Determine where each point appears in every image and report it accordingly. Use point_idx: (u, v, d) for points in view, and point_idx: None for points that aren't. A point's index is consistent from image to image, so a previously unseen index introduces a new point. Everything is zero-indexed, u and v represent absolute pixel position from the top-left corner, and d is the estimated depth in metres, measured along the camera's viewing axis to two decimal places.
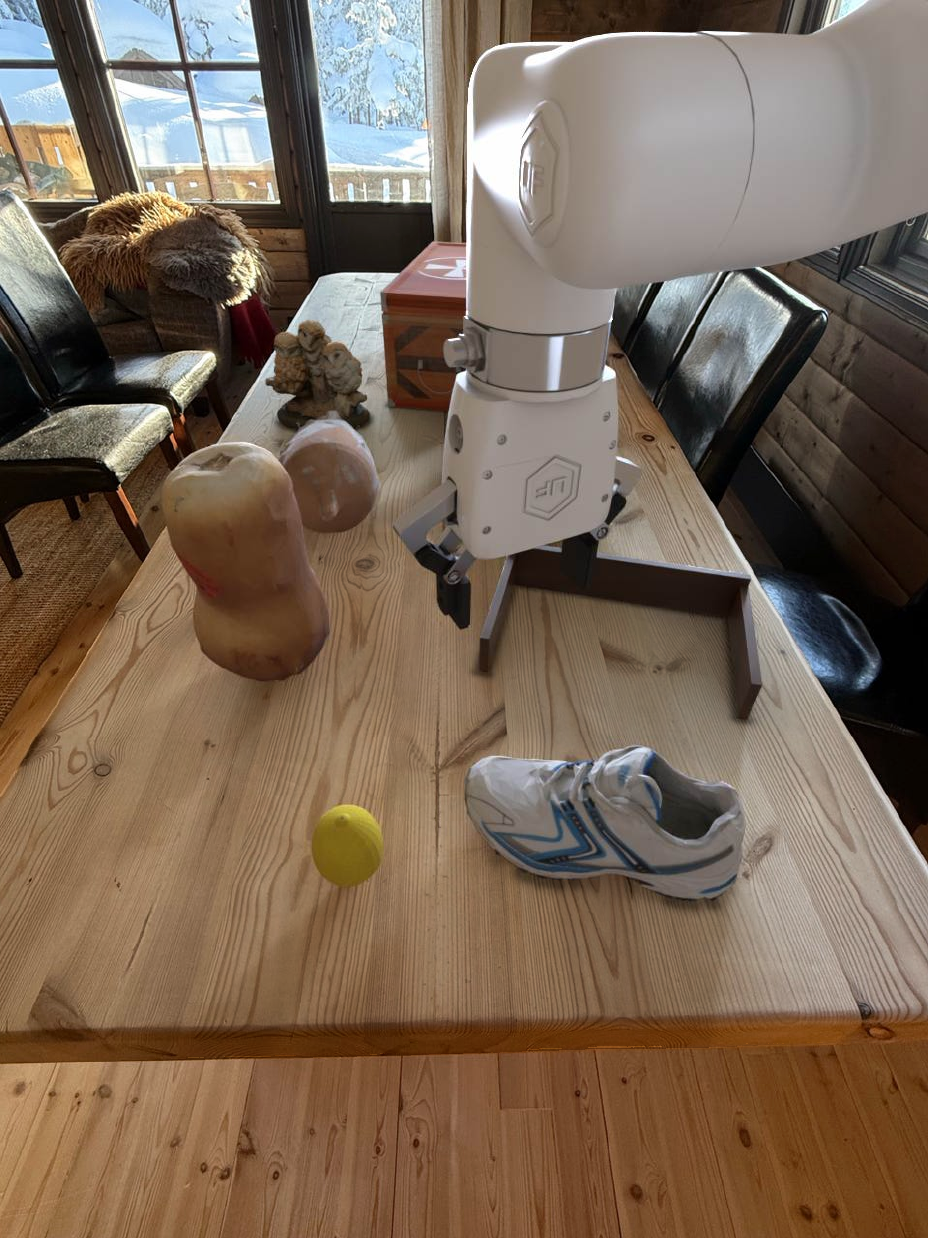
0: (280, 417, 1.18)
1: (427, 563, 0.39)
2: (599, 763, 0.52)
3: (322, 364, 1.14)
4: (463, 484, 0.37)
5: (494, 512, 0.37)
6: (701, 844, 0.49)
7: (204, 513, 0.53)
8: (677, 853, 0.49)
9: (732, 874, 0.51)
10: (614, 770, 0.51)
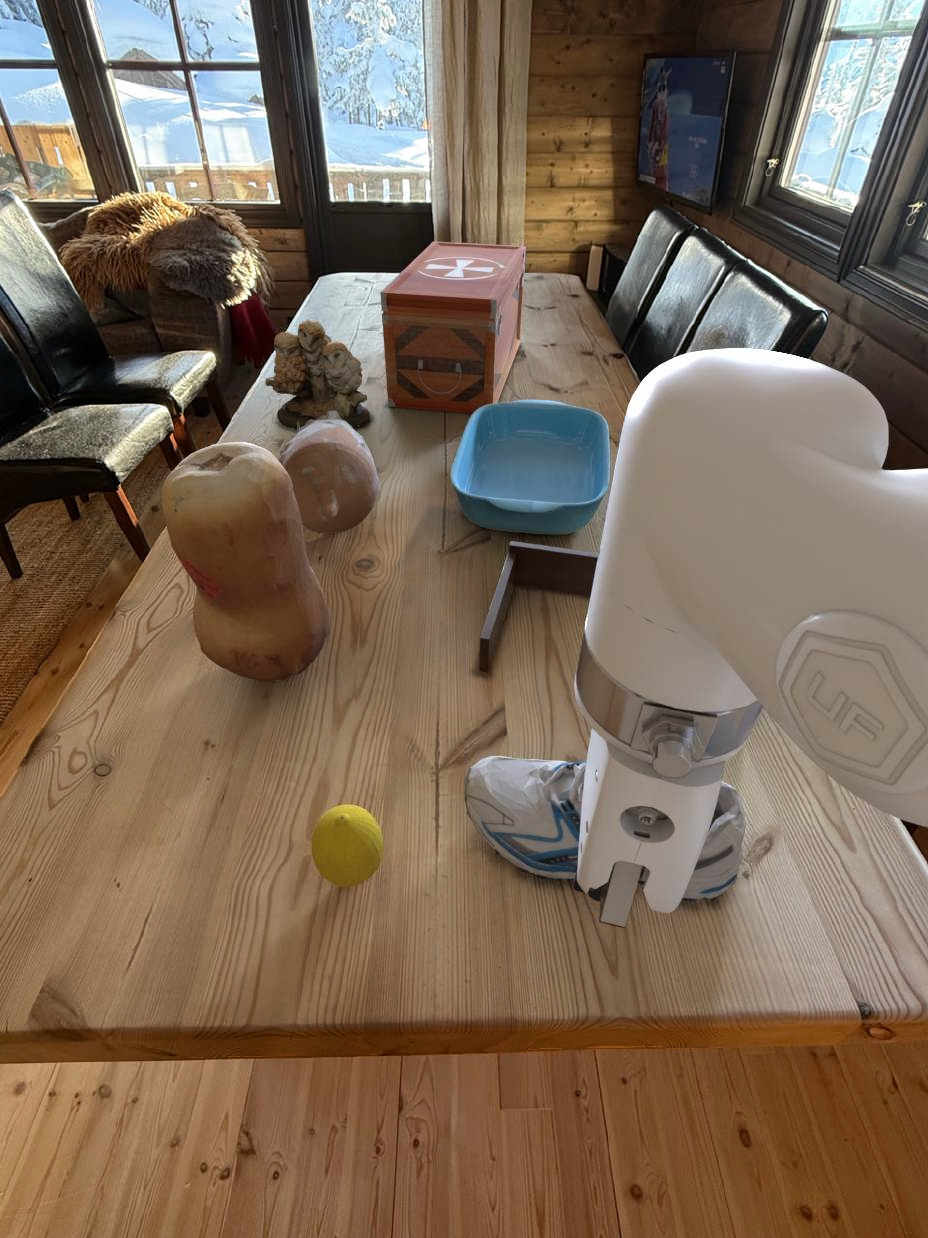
0: (280, 417, 1.18)
1: None
2: None
3: (322, 364, 1.14)
4: (668, 866, 0.27)
5: None
6: None
7: (204, 513, 0.53)
8: None
9: (732, 874, 0.51)
10: None
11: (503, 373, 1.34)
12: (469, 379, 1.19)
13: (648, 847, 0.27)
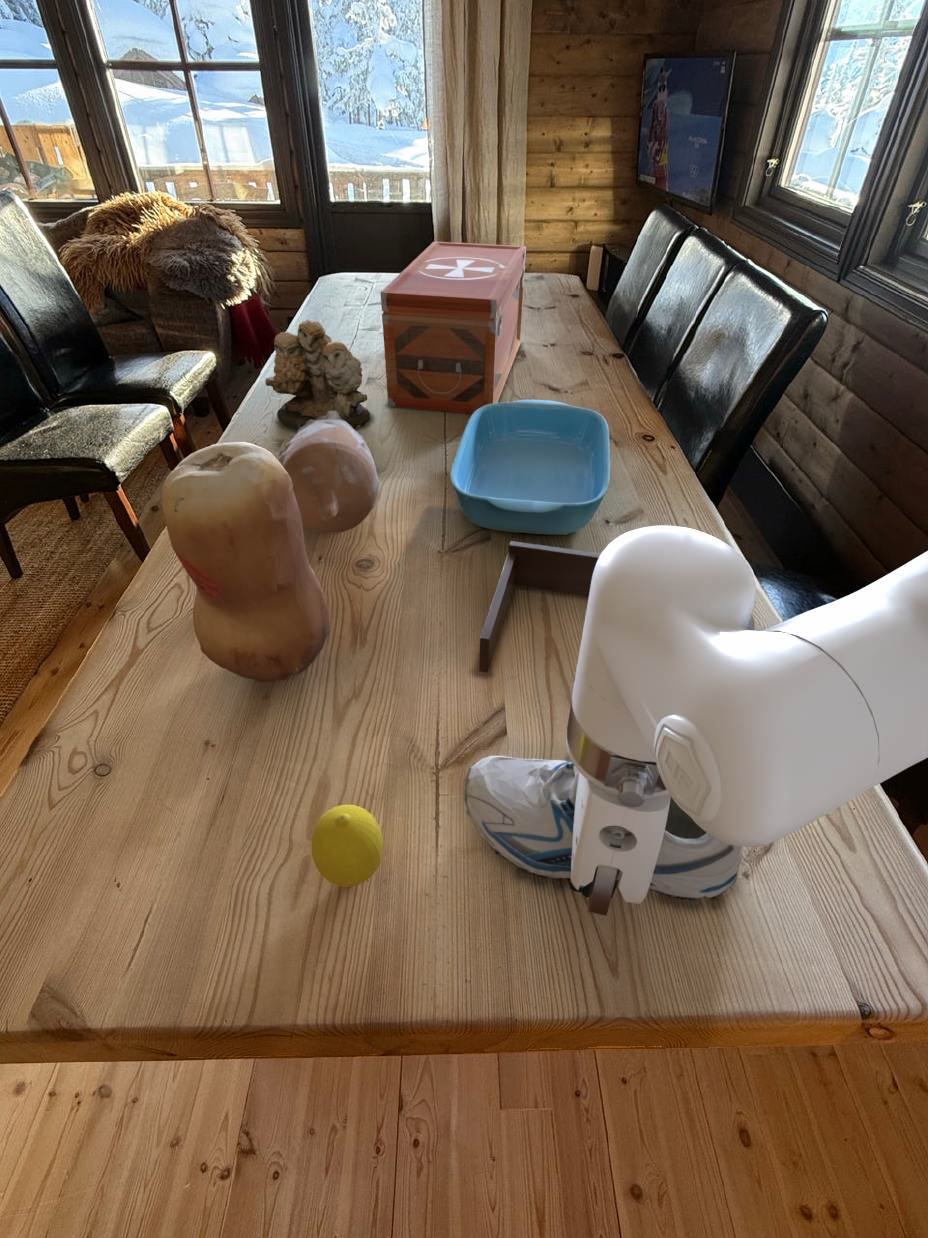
0: (280, 417, 1.18)
1: (613, 884, 0.44)
2: None
3: (322, 364, 1.14)
4: (635, 868, 0.38)
5: None
6: (701, 843, 0.49)
7: (204, 513, 0.53)
8: (677, 852, 0.49)
9: (732, 873, 0.51)
10: None
11: (503, 373, 1.34)
12: (469, 379, 1.19)
13: (619, 855, 0.38)
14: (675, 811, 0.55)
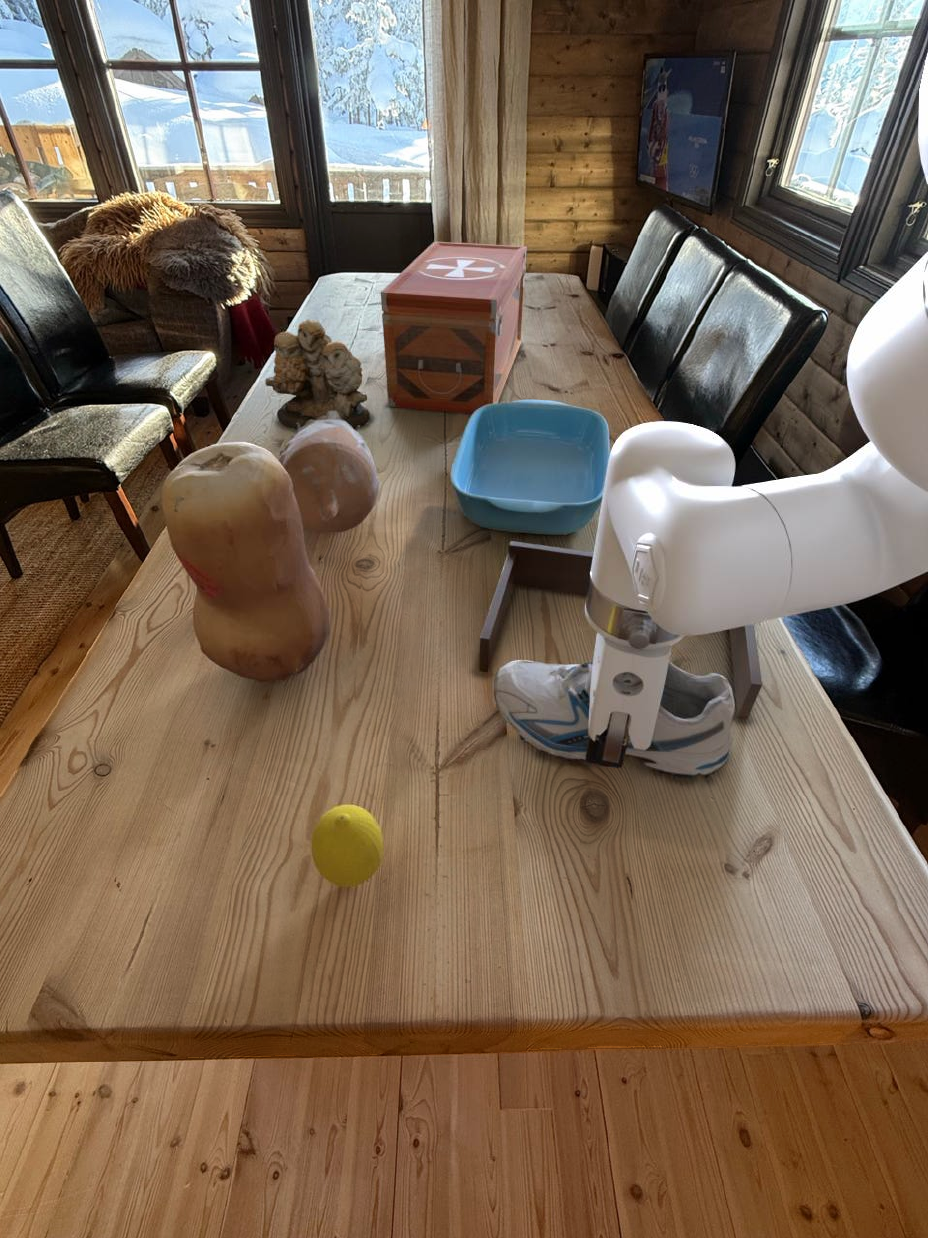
0: (280, 417, 1.18)
1: (623, 742, 0.53)
2: None
3: (322, 364, 1.14)
4: (641, 712, 0.47)
5: None
6: (696, 721, 0.57)
7: (204, 513, 0.53)
8: (676, 728, 0.58)
9: (723, 752, 0.60)
10: None
11: (503, 373, 1.34)
12: (469, 379, 1.19)
13: (629, 699, 0.47)
14: (675, 705, 0.64)
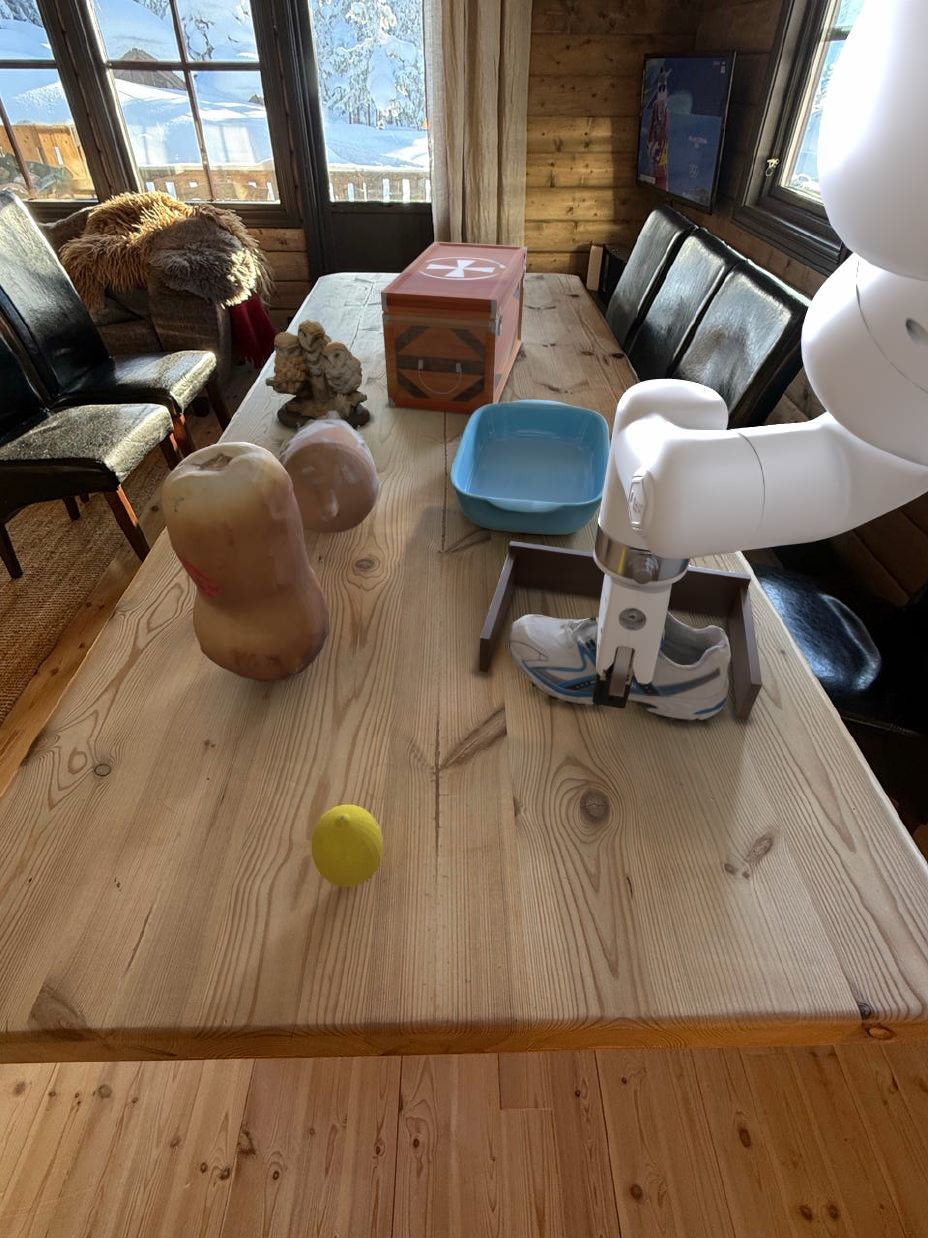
0: (280, 417, 1.18)
1: (627, 680, 0.58)
2: None
3: (322, 364, 1.14)
4: (644, 645, 0.52)
5: None
6: (694, 667, 0.62)
7: (204, 513, 0.53)
8: (675, 673, 0.63)
9: (719, 698, 0.65)
10: None
11: (504, 373, 1.34)
12: (469, 379, 1.19)
13: (633, 634, 0.52)
14: (676, 657, 0.69)
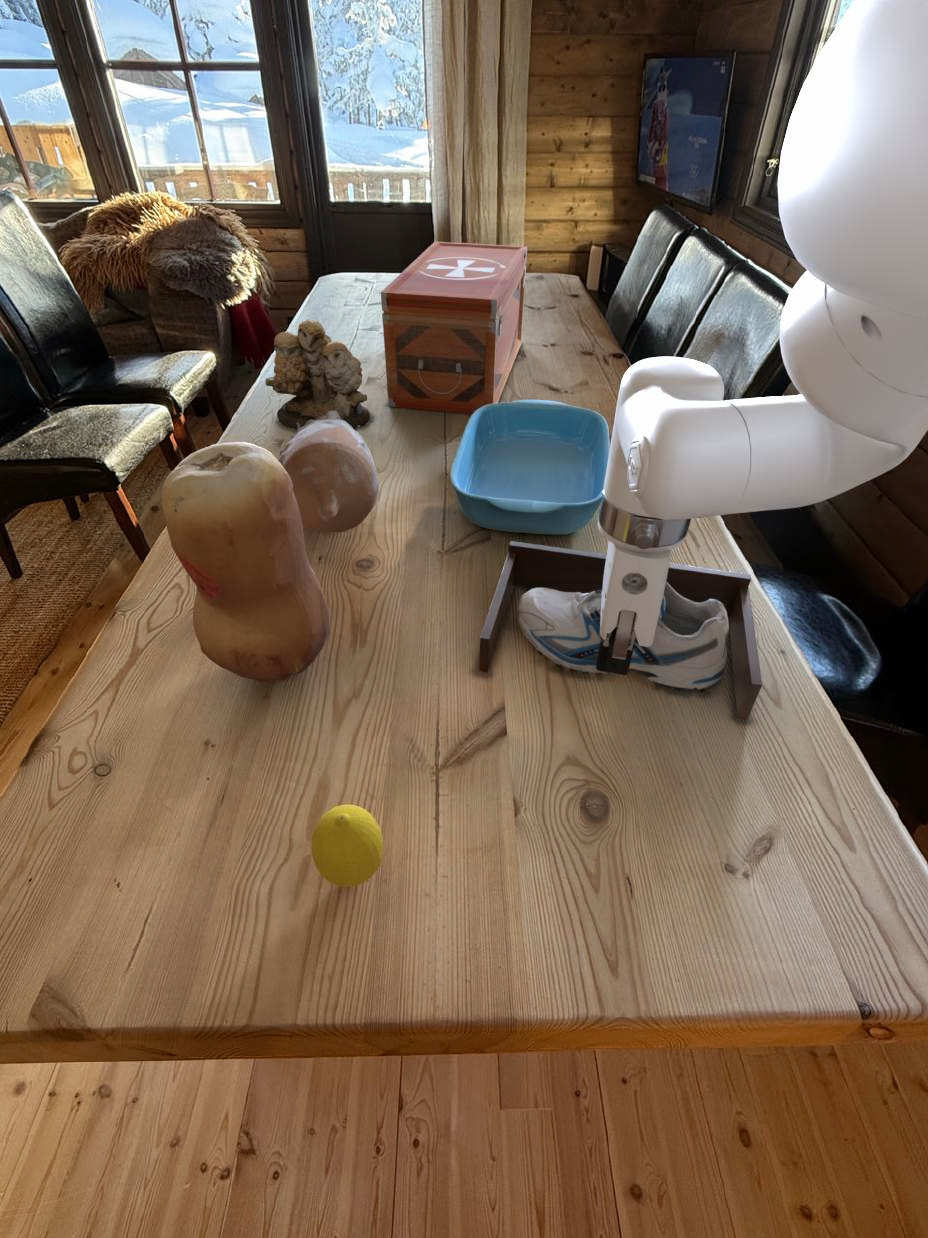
0: (280, 417, 1.18)
1: None
2: None
3: (322, 364, 1.14)
4: (646, 609, 0.56)
5: None
6: (693, 636, 0.66)
7: (204, 513, 0.53)
8: (675, 642, 0.66)
9: (717, 668, 0.68)
10: None
11: (504, 373, 1.34)
12: (469, 379, 1.19)
13: (635, 598, 0.55)
14: (677, 630, 0.72)
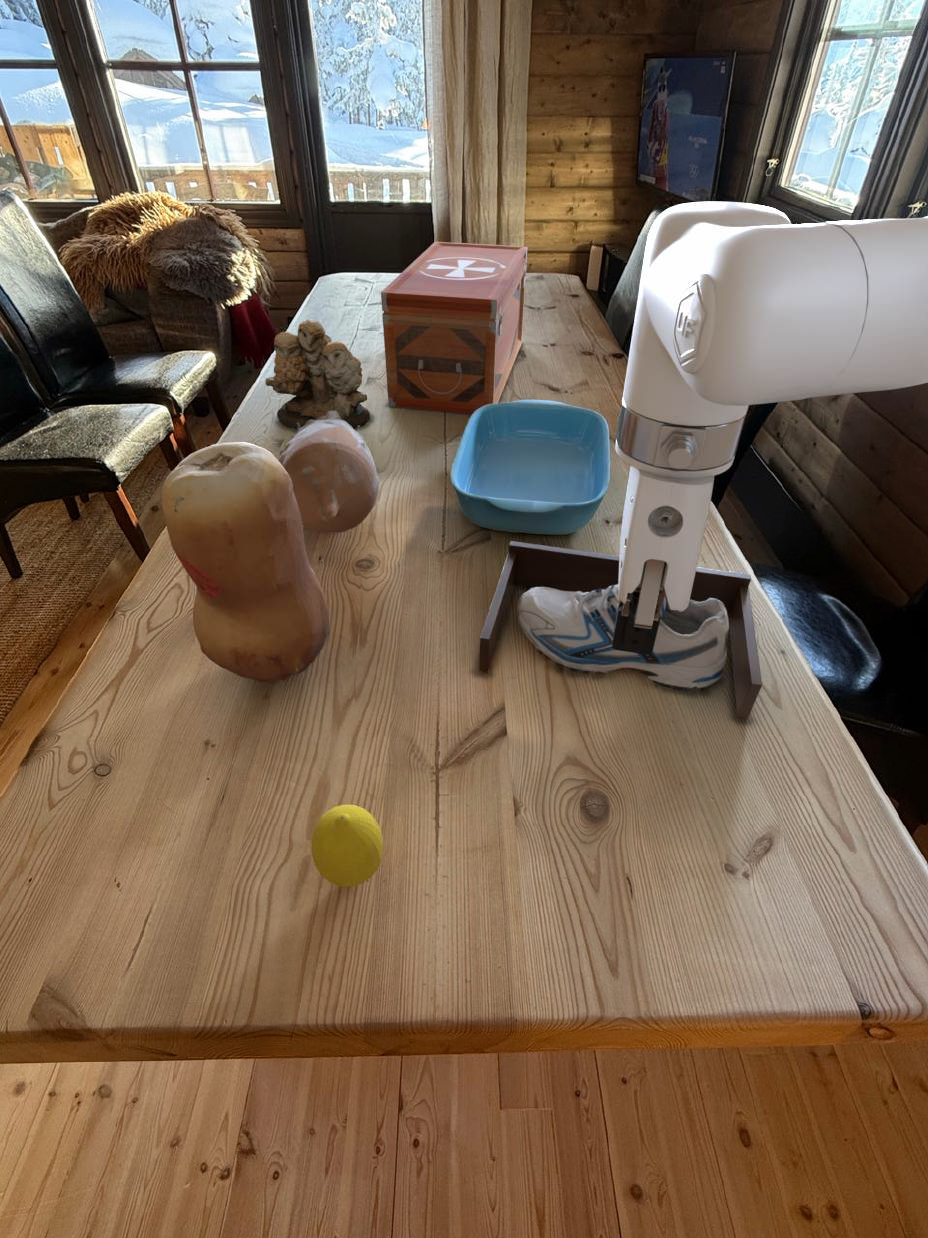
0: (280, 417, 1.18)
1: (656, 612, 0.48)
2: None
3: (322, 364, 1.14)
4: (680, 558, 0.42)
5: None
6: (693, 635, 0.66)
7: (204, 513, 0.53)
8: (675, 641, 0.66)
9: (717, 667, 0.68)
10: None
11: (504, 373, 1.34)
12: (469, 379, 1.19)
13: (666, 542, 0.42)
14: (678, 629, 0.72)
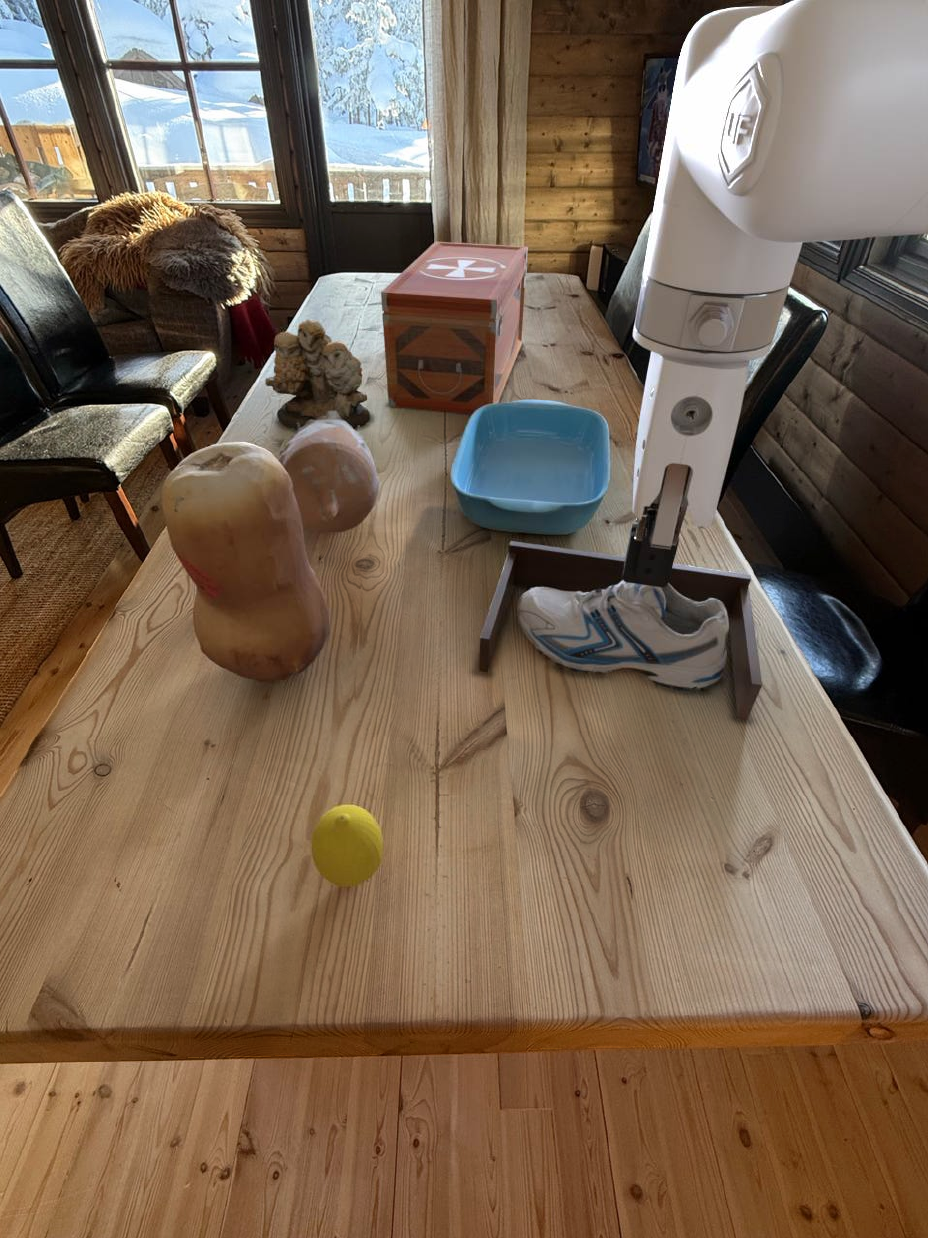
0: (280, 417, 1.18)
1: (675, 533, 0.42)
2: (621, 582, 0.70)
3: (322, 364, 1.14)
4: (707, 461, 0.36)
5: None
6: (693, 636, 0.66)
7: (204, 513, 0.53)
8: (675, 642, 0.66)
9: (717, 667, 0.68)
10: (631, 585, 0.68)
11: (504, 373, 1.34)
12: (469, 379, 1.19)
13: (692, 441, 0.36)
14: (678, 629, 0.72)
